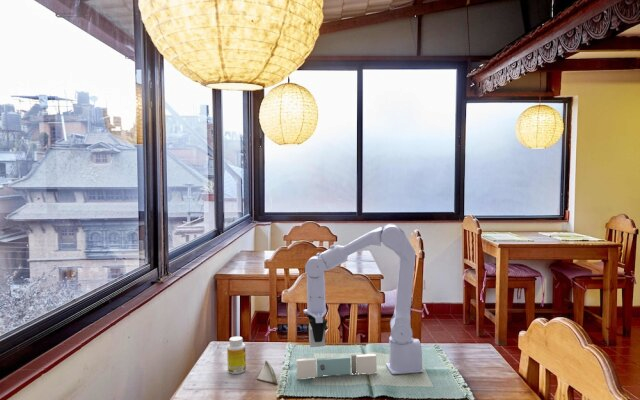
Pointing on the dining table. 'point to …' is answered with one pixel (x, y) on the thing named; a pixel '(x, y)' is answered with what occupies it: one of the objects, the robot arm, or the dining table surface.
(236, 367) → the supplement bottle
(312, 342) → the pale grey block
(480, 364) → the dining table surface
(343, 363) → the door
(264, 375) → the ceramic fragment
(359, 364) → the frame
